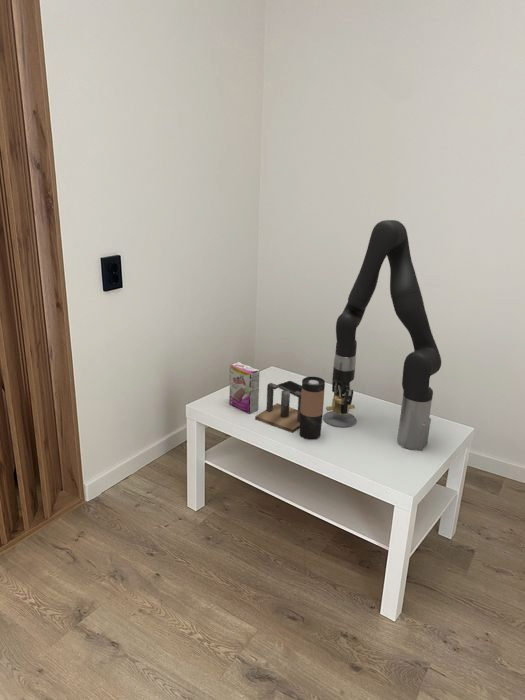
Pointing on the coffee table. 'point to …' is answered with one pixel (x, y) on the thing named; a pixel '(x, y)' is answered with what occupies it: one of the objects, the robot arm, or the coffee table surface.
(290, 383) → the phone
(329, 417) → the coaster
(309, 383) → the travel mug
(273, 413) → the stand
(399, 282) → the robot arm
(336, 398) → the brass pipe fitting
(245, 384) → the candy bar box
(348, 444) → the coffee table surface
